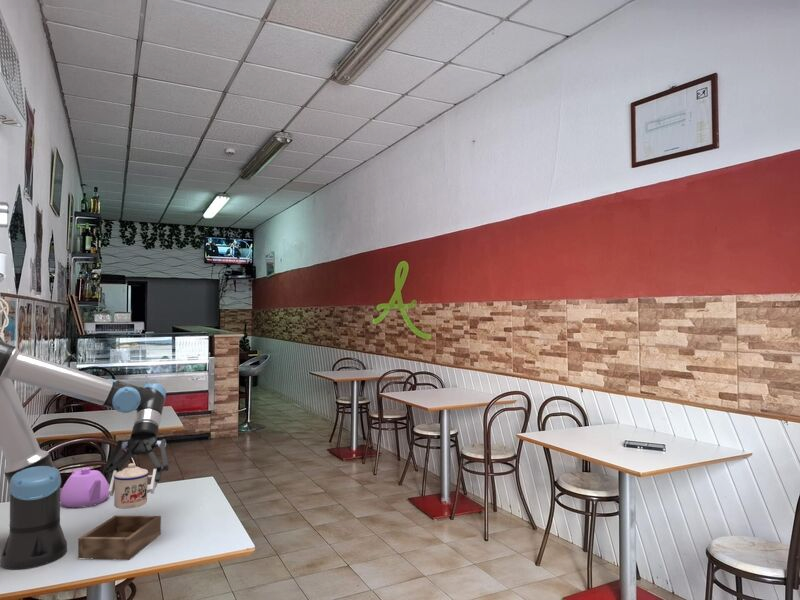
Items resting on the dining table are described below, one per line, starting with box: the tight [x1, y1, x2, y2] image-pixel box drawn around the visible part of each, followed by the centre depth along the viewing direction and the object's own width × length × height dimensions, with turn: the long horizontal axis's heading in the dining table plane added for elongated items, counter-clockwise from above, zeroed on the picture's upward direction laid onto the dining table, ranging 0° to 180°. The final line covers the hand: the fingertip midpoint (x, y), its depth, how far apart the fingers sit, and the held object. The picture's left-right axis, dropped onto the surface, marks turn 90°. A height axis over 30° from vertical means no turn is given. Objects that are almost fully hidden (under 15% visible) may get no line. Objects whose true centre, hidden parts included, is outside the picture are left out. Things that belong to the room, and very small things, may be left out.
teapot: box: [60, 466, 110, 508], centre depth 197 cm, size 22×16×12 cm
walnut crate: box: [77, 515, 162, 561], centre depth 158 cm, size 14×17×6 cm
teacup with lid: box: [113, 462, 159, 510], centre depth 161 cm, size 12×9×12 cm
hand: (131, 492), depth 158 cm, fingers closed on teacup with lid, 10 cm apart
